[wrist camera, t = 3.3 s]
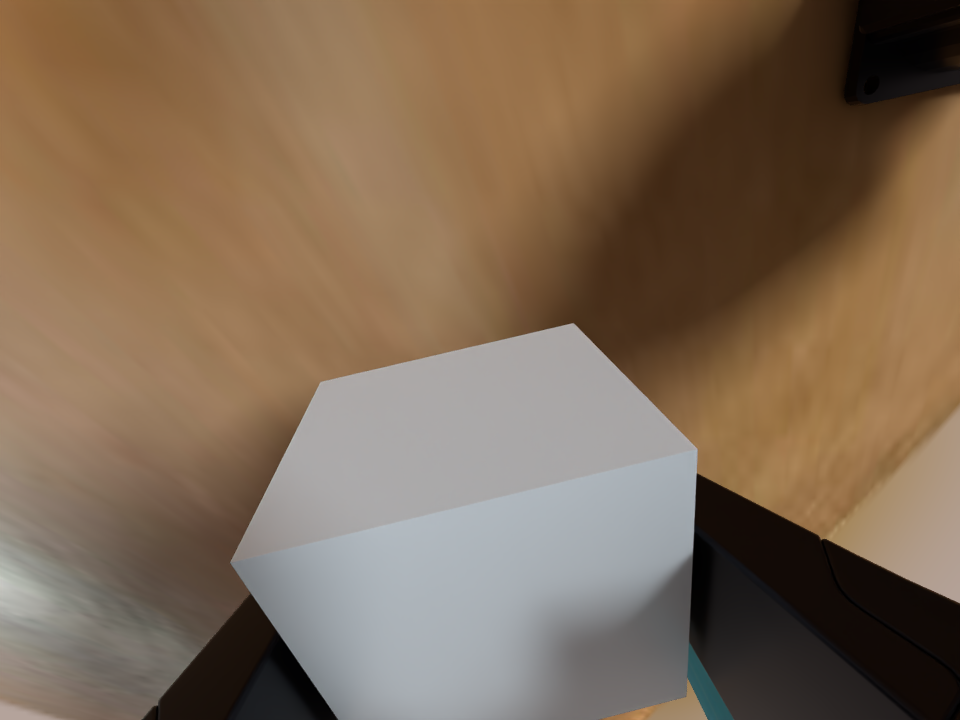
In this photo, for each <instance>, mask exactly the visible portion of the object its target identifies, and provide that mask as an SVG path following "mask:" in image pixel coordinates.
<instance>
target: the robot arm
mask: <svg viewBox="0 0 960 720" xmlns="http://www.w3.org/2000/svg"><path fill="white" fill-rule="evenodd" d="M866 81H867V87H866V90H865V92H864V85H865V82H866ZM956 84H960V0H859V6H858V12H857V18H856V24H855V30H854V36H853V42H852V48H851V54H850V60H849V66H848V72H847V78H846V84H845V90H844V98H845V100H846V102H847V103H848V104H849V105H853V106H856V105H863V104H869V103H874V102H878V101H883V100H887V99H892V98H896V97H901V96H905V95H910V94H915V93H919V92H924V91H928V90H933V89H937V88H942V87H946V86H951V85H956ZM689 643H690V644H691V646H692V648H693V650H694V651H695V653H696V655H697V657H698V658H699V660H700V662H701V663H702V665H703V667H704V669H705V670H706V672H707V674H708V676H709V677H710V679H711V681H712V682H713V684H714V686H715V688H716V689H717V691H718V693H719V695H720V696H721V698H722V700H723V701H724V703H725V705H726V707H727V708H728V710H729V712H730V714H731V715H732V717H733V719H734V720H960V603H958V602H956V601H954V600H951V599H949V598H947V597H945V596H943V595H940V594H938V593H936V592H934V591H932V590H929V589H927V588H925V587H923V586H921V585H918V584H916V583H914V582H912V581H910V580H907V579H905V578H903V577H901V576H899V575H897V574H895V573H893V572H891V571H889V570H887V569H885V568H883V567H881V566H879V565H877V564H874V563H873V562H871V561H869V560H867V559H865V558H863V557H860V556H858V555H856V554H854V553H852V552H850V551H849V550H847V549H845V548H843V547H841V546H839V545H837V544H835V543H833V542H831V541H829V540H827V539H822V540H821V539H820V537H819V536H818V535H817V534H815V533H813V532H811V531H809V530H807V529H805V528H803V527H801V526H799V525H797V524H795V523H793V522H791V521H789V520H787V519H785V518H784V517H782V516H780V515H778V514H776V513H774V512H772V511H770V510H768V509H766V508H764V507H762V506H760V505H758V504H756V503H754V502H752V501H750V500H748V499H746V498H744V497H742V496H740V495H738V494H737V493H735V492H733V491H731V490H729V489H727V488H725V487H723V486H721V485H719V484H717V483H715V482H713V481H711V480H709V479H707V478H705V477H703V476H701V475H699V474H697V473H696V495H695V517H694V539H693V561H692V583H691V605H690V627H689ZM142 720H338V718H337V717H336V716H335V714H334V713H333V711H332V710H331V708H330V707H329V705H328V704H327V703H326V701H325V700H324V698H323V697H322V695H321V694H320V692H319V691H318V690H317V688H316V687H315V685H314V684H313V682H312V681H311V679H310V678H309V676H308V675H307V674H306V672H305V671H304V669H303V668H302V666H301V665H300V663H299V662H298V661H297V659H296V658H295V656H294V655H293V653H292V652H291V650H290V649H289V648H288V646H287V645H286V643H285V642H284V640H283V639H282V637H281V636H280V634H279V633H278V632H277V630H276V629H275V627H274V626H273V624H272V623H271V621H270V620H269V619H268V617H267V616H266V614H265V613H264V611H263V610H262V608H261V607H260V606H259V604H258V603H257V601H256V600H255V598H254V597H253V595H252V594H251V593H250V595H249V596H248V597H247V598H246V599H245V600H244V602H243V603H242V604H241V605H240V606H239V607H238V609H237V610H236V611H235V612H234V613H233V614H232V616H231V617H230V618H229V619H228V620H227V621H226V623H225V624H224V625H223V626H222V627H221V628H220V630H219V631H218V632H217V633H216V634H215V635H214V637H213V638H212V639H211V640H210V641H209V642H208V643H207V645H206V646H205V647H204V648H203V649H202V650H201V652H200V653H199V654H198V655H197V656H196V657H195V659H194V660H193V661H192V662H191V663H190V664H189V666H188V667H187V668H186V669H185V670H184V671H183V673H182V674H181V675H180V676H179V677H178V678H177V680H176V681H175V682H174V683H173V684H172V685H171V687H170V688H169V689H168V690H167V691H166V692H165V693H164V695H163V696H162V697H161V698H160V700H159V701H158V706H154V707H152V708H151V710H150V711H149V712H148V713H147V714H146V715H145V717H144V718H143V719H142Z"/></svg>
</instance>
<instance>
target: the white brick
mask: <svg viewBox="0 0 960 720" xmlns="http://www.w3.org/2000/svg"><path fill="white" fill-rule="evenodd" d="M697 451H698V449H697V448H696V447H695V446H694V445H693V444H692V443H691V442H690V441H689V440H688V439H687V438H686V437H685V436H684V435H683V434H682V433H681V432H680V431H679V430H678V429H677V428H676V427H675V426H674V425H673V424H672V423H671V422H670V421H669V420H668V419H667V418H666V417H665V416H664V415H663V413H662V412H661V411H660V410H659V409H658V408H657V407H656V406H655V405H654V404H653V403H652V402H651V401H650V400H649V399H648V398H647V397H646V396H645V395H644V394H643V393H642V392H641V391H640V390H639V389H638V388H637V387H636V386H635V385H634V384H633V383H632V382H631V381H630V380H629V379H628V378H627V377H626V376H625V375H624V374H623V373H622V372H621V371H620V370H619V369H618V368H617V367H616V366H615V365H614V364H613V363H612V362H611V361H610V360H609V359H608V358H607V357H606V356H605V355H604V354H603V353H602V351H601V350H600V349H599V348H598V347H597V346H596V345H595V344H594V343H593V342H592V341H591V340H590V339H589V338H588V337H587V336H586V335H585V334H584V333H583V332H582V331H581V330H580V329H579V328H578V327H577V326H576V325H575V324H574V323H572V324H568V325H563V326H559V327H555V328H550V329H546V330H542V331H538V332H533V333H529V334H525V335H520V336H516V337H512V338H508V339H503V340H499V341H495V342H490V343H486V344H482V345H477V346H473V347H469V348H465V349H460V350H456V351H452V352H447V353H443V354H439V355H435V356H430V357H426V358H422V359H417V360H413V361H409V362H405V363H400V364H396V365H392V366H387V367H383V368H379V369H374V370H370V371H366V372H362V373H357V374H353V375H349V376H344V377H340V378H336V379H332V380H327V381H323V382H320V384H319V386H318V388H317V390H316V392H315V394H314V396H313V398H312V400H311V402H310V404H309V406H308V408H307V410H306V412H305V414H304V416H303V418H302V420H301V422H300V424H299V426H298V428H297V430H296V432H295V434H294V436H293V438H292V440H291V442H290V444H289V446H288V448H287V450H286V452H285V454H284V456H283V458H282V460H281V462H280V464H279V466H278V468H277V470H276V472H275V474H274V476H273V478H272V480H271V482H270V484H269V486H268V488H267V490H266V492H265V494H264V496H263V498H262V500H261V502H260V504H259V506H258V508H257V510H256V512H255V514H254V516H253V518H252V520H251V522H250V524H249V526H248V528H247V530H246V532H245V534H244V536H243V538H242V540H241V542H240V544H239V546H238V548H237V550H236V552H235V554H234V556H233V558H232V560H231V562H230V564H231V565H232V566H233V568H234V569H235V571H236V572H237V574H238V575H239V577H240V578H241V579H242V581H243V582H244V584H245V585H246V587H247V588H248V590H249V591H250V592H251V594H252V595H253V597H254V598H255V600H256V601H257V603H258V604H259V606H260V607H261V608H262V610H263V611H264V613H265V614H266V616H267V617H268V619H269V620H270V621H271V623H272V624H273V626H274V627H275V629H276V630H277V632H278V633H279V634H280V636H281V637H282V639H283V640H284V642H285V643H286V645H287V646H288V648H289V649H290V650H291V652H292V653H293V655H294V656H295V658H296V659H297V661H298V662H299V663H300V665H301V666H302V668H303V669H304V671H305V672H306V674H307V675H308V676H309V678H310V679H311V681H312V682H313V684H314V685H315V687H316V688H317V690H318V691H319V692H320V694H321V695H322V697H323V698H324V700H325V701H326V703H327V704H328V705H329V707H330V708H331V710H332V711H333V713H334V714H335V716H336V717H337V718H338V720H599V719H603V718H607V717H610V716H614V715H618V714H622V713H626V712H630V711H634V710H637V709H641V708H645V707H649V706H653V705H657V704H661V703H664V702H668V701H672V700H676V699H680V698H684V697H686V692H687V671H688V649H689V627H690V605H691V583H692V561H693V539H694V517H695V495H696V473H697Z"/></svg>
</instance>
